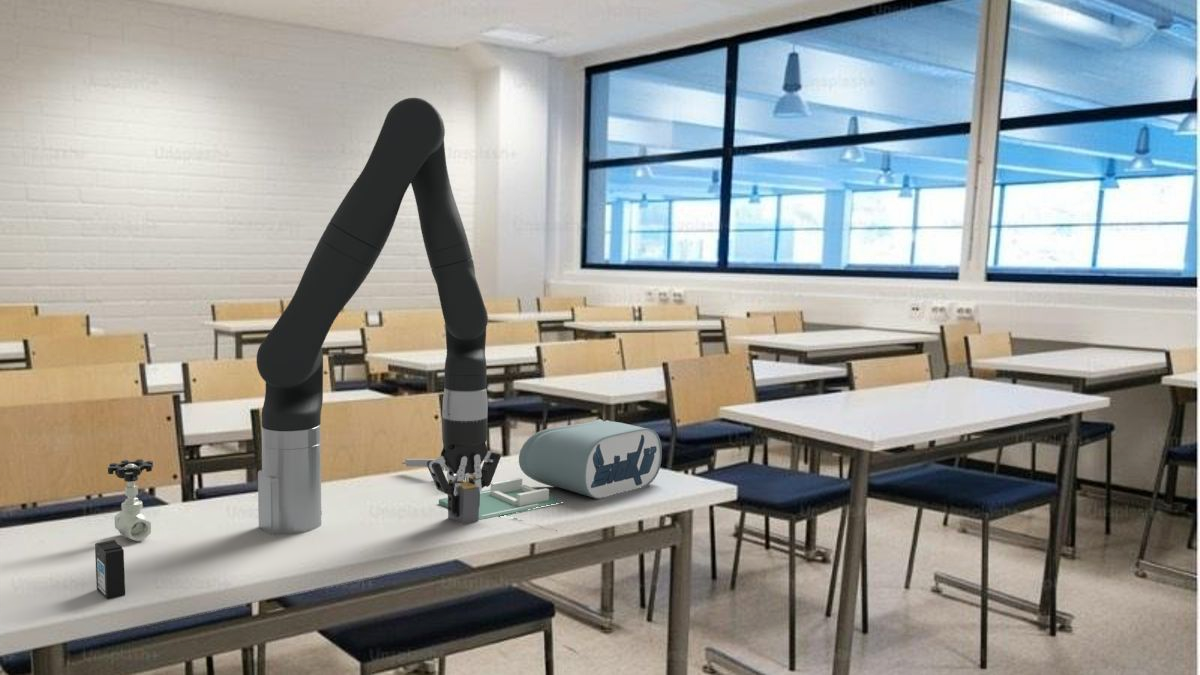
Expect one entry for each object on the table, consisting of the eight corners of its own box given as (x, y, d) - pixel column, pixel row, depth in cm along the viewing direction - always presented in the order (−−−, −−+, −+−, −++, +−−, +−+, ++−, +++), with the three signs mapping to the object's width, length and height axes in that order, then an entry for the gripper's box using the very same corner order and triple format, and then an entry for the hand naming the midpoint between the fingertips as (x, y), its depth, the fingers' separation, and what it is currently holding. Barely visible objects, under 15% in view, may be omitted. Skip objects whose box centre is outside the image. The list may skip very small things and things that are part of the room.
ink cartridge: (96, 599, 122) (93, 541, 121) (114, 595, 123) (112, 537, 122) (106, 611, 118) (104, 551, 117) (125, 606, 120) (123, 548, 119)
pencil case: (583, 508, 167) (585, 440, 166) (515, 486, 180) (516, 423, 179) (660, 486, 183) (663, 424, 182) (592, 468, 196) (594, 409, 195)
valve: (117, 547, 141) (114, 472, 139) (103, 536, 145) (101, 463, 144) (162, 538, 145) (160, 465, 144) (147, 528, 150) (145, 456, 149)
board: (480, 526, 156) (480, 507, 155) (438, 505, 166) (438, 488, 166) (563, 507, 167) (564, 490, 167) (519, 489, 178) (520, 473, 177)
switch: (463, 530, 153) (463, 487, 152) (448, 523, 157) (448, 480, 156) (478, 527, 155) (479, 484, 154) (463, 519, 159) (463, 477, 158)
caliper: (471, 484, 179) (472, 453, 179) (467, 485, 178) (468, 454, 178) (405, 464, 192) (406, 434, 191) (401, 465, 191) (401, 435, 190)
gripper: (439, 423, 146) (438, 527, 148) (512, 413, 155) (510, 512, 157) (417, 415, 152) (416, 515, 154) (487, 406, 161) (486, 501, 163)
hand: (463, 513), depth 156 cm, fingers closed on switch, 3 cm apart
